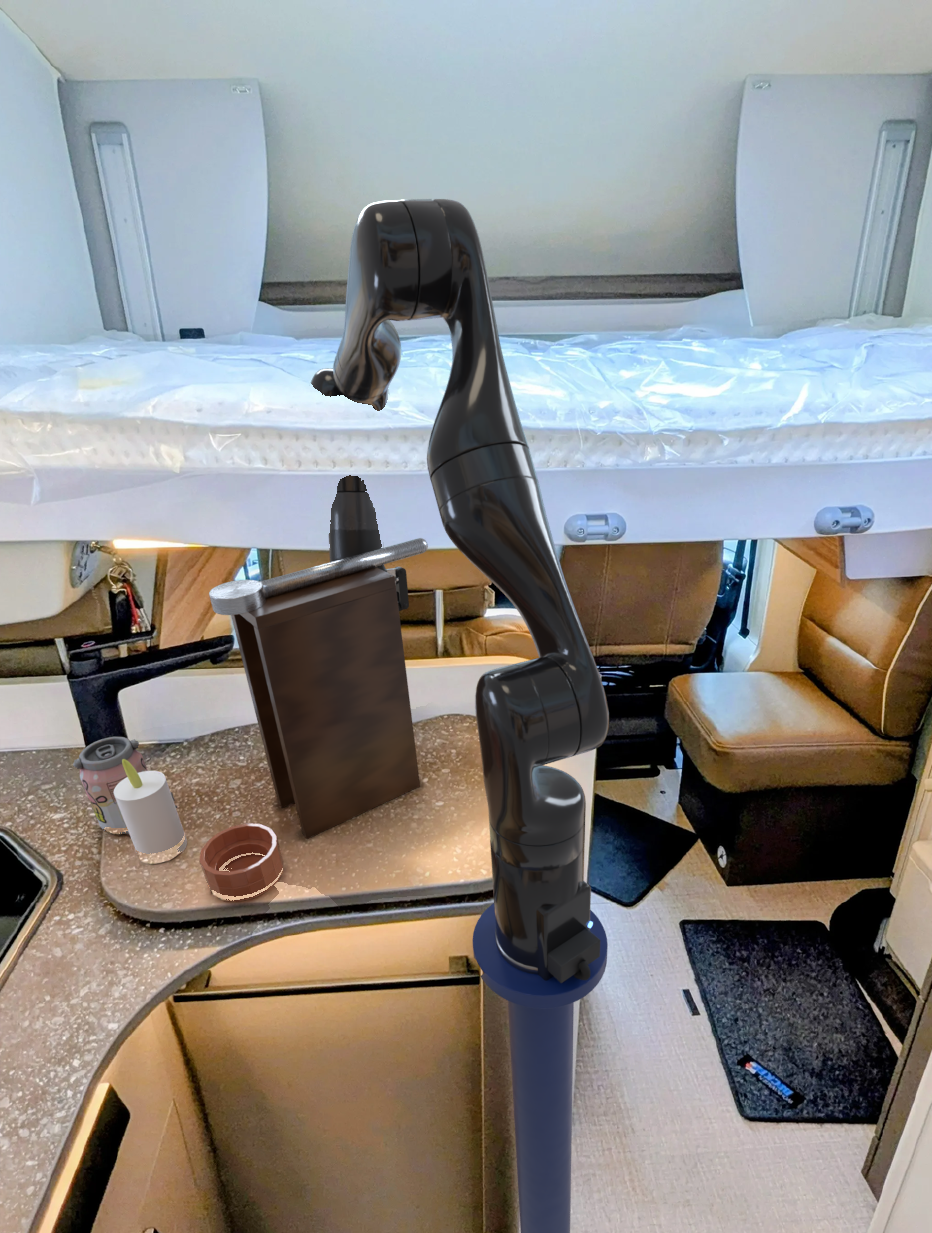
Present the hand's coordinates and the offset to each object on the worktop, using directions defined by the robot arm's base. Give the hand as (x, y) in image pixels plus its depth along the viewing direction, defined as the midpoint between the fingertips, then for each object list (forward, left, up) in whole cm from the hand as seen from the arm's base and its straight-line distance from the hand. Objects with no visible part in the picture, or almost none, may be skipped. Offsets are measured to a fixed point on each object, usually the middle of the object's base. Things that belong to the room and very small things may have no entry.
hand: (360, 641), depth 102 cm
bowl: (-15, +27, -19) cm, 36 cm away
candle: (-2, +34, -19) cm, 39 cm away
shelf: (-8, +9, -19) cm, 22 cm away
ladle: (-8, +6, +13) cm, 17 cm away
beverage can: (+8, +36, -19) cm, 42 cm away
